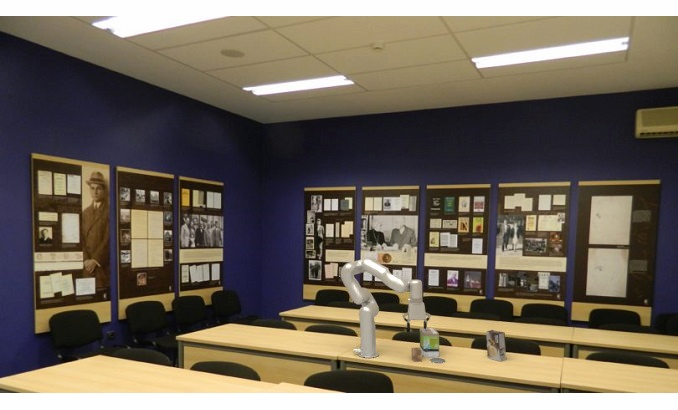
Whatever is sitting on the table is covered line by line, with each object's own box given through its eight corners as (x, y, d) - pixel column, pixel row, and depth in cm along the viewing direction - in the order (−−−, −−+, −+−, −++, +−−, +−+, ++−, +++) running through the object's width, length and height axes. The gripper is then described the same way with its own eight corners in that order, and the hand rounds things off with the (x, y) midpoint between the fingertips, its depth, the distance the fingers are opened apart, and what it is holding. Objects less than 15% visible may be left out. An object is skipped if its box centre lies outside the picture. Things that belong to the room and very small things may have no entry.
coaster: (431, 363, 256) (431, 362, 256) (428, 358, 265) (428, 358, 265) (447, 363, 257) (447, 362, 257) (443, 358, 266) (443, 357, 266)
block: (413, 361, 260) (413, 350, 260) (411, 359, 265) (411, 347, 265) (421, 361, 260) (421, 349, 261) (420, 359, 265) (419, 347, 266)
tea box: (440, 357, 268) (439, 332, 269) (423, 357, 268) (422, 333, 269) (435, 350, 283) (434, 327, 284) (419, 350, 283) (418, 327, 284)
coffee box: (506, 359, 261) (505, 332, 262) (500, 361, 257) (499, 334, 258) (493, 356, 268) (492, 329, 269) (486, 358, 264) (485, 331, 265)
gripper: (403, 301, 261) (403, 330, 260) (431, 301, 262) (432, 330, 261) (400, 299, 269) (401, 327, 268) (428, 299, 269) (429, 327, 268)
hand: (416, 329), depth 264 cm, fingers open, 9 cm apart
